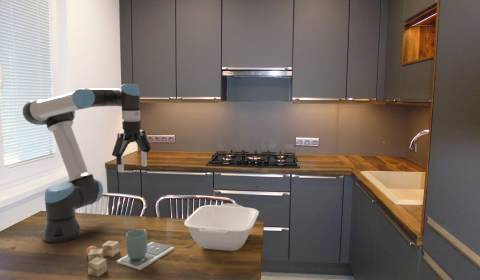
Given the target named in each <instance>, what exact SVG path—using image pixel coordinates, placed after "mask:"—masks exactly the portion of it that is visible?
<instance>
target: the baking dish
mask: <svg viewBox="0 0 480 280" xmlns="http://www.w3.org/2000/svg"><path fill="white" fill-rule="evenodd" d="M259 214H260V212H259V210H257V209H256V208H254V207H244V206H242V205H239V204H238V203H222V204H220V205H219V204H218V205H215V204H208V205H203V206H202V205H201V206H199V207H197V208H196V209H195V211H193V213H191V214H190V215H189V216H188V217H187V219H185V220H184V223H183V225H184V226H185V227H186V228H188V230H189V233H190V237H192V240H193V241H194V242H195V243H196V244H197V245H198V246H200V247H201V248H202V249H206V250H215V251H217V250H218V251H226V252H228V251H229V252H235V251H238V250H240V249H241V248H242V247H243V245H244V244H245V243H246V241H247V239H248V237H249V236H250V233H251V231H252V228H254V225H255V223H256V221H257V219H258V217H259Z"/></svg>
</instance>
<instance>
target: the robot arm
mask: <svg viewBox="0 0 480 280" xmlns="http://www.w3.org/2000/svg"><path fill="white" fill-rule="evenodd" d="M97 107H121V119H122V122H121V123H122V124H121V125H122V130H123V132H118V133H117V135H116V136H117V138H116V141H115V145H114V147H113V151H112V153H111V156H112V157H115V158H116V165H117V172H118V173H122V174H123V173H124V172H125V166H124V165H125V164H124V156H123V155H124V154H125V151H126V150H127V148H128V146H129V145H130V144H131V143H136V145H137V146H138V147H139V149H140V150H141V152H140V160H141V162H140V164H141V167H148V153H149V152H150V150H151V149H152V147H151V145H150V142H149V140H148V137H147V135H146V131H145V130H143V129H141V128H142V124H141V121H140V120H141V92H140V86H139V85H138V84H137V83H122V84H121V85H120V88H109V87H108V88H87V87H83V88H76V89H75V90H74V91H73V92H69V93H66V94H63V95H62V94H61V95H59V96H55V97H51V98H47V99H34V100H29V101H28V102H26V103H25V104H24V106H23V107H22V116H23V118H24V119H25V120H26V121H27V122H29V123H30V124H31V125H32V124H33V125H38V126H42V125H46V127H47V130H48V131H49V132H52V134H53V137H54V139H55V142H56V145H57V148H58V150H59V152H60V155H61V159H62V162H63V164H64V167H65V169H66V172H67V175H68V177H69V179H68V181H66V182H61V183H59V182H58V183H55V184H53V185H50V186H48V187H47V188H46V190H45V192H44V206H45V214H46V215H45V216H46V217H45V218H46V223H45V227H44V231H43V234H42V238H43V239H42V240H43V241H45V242H46V243H53V244H54V243H64V242H69V241H72V240H74V239H77V238H78V237H80V236H81V232H82V231H81V227H80V224H79V222H78V220H77V217H76V210H78V209H81V208H84V207H87V206H90V205H93V204H95V203H98V202H99V201H100V200H101V198H102V195H103V194H104V186H103V184H102V181H100V180H99V179H98V178H95V177H94V174H93V173H91V172H89V170H88V168H87V166H86V162H85V160H84V158H83V155H82V152H81V149H80V146H79V144H78V140H77V139H76V135H75V133H74V130H73V128H72V127H73V124H74V120H75V119H76V118H75V117H76V111H79V110H83V109H84V110H85V109H89V108H97Z"/></svg>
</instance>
